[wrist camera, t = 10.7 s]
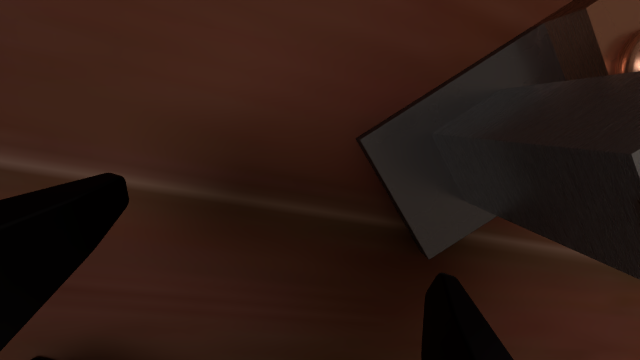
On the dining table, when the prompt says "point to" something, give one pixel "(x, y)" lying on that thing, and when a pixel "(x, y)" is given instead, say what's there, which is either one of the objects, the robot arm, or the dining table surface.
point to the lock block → (557, 162)
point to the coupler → (475, 86)
